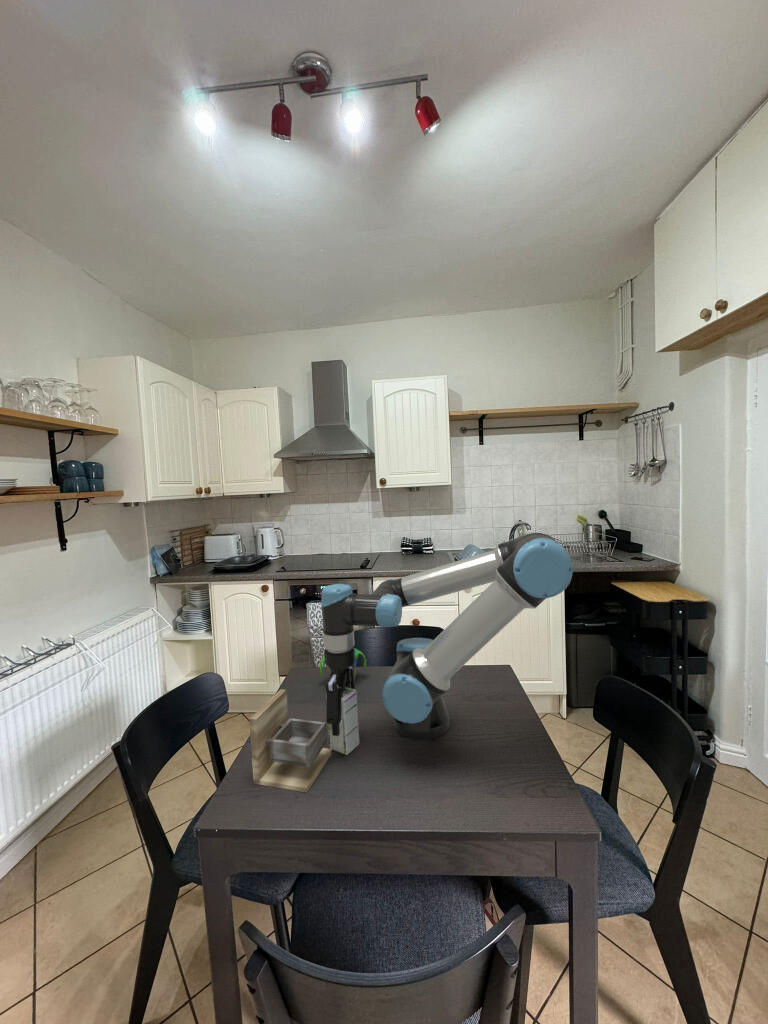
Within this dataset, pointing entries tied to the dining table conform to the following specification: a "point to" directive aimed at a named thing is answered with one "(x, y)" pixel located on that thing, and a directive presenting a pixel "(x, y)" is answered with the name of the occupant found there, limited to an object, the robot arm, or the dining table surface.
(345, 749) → the syrup box
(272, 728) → the wooden caddy with bin
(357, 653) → the snack cup
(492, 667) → the dining table surface
